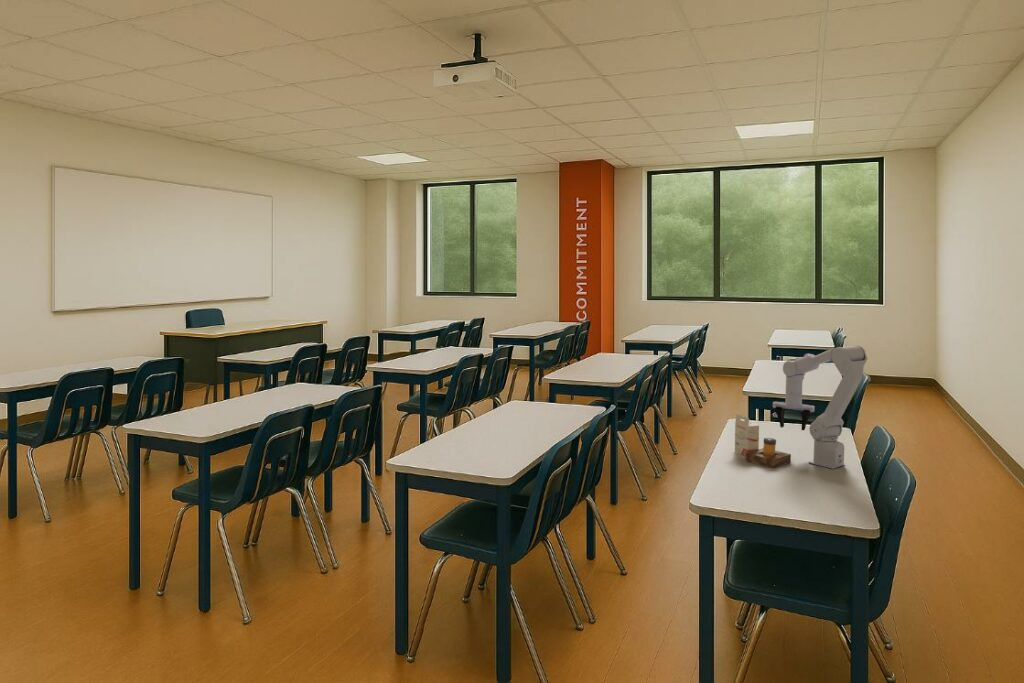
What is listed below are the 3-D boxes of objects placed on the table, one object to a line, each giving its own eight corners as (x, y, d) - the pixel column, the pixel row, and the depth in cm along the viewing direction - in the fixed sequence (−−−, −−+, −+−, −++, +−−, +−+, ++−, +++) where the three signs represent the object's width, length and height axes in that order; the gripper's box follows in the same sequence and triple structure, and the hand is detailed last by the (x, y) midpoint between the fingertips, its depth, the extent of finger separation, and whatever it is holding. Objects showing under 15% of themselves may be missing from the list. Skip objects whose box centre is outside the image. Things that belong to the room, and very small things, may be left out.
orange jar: (776, 461, 256) (778, 439, 255) (770, 463, 253) (772, 441, 252) (766, 458, 259) (767, 437, 258) (759, 460, 256) (761, 439, 255)
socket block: (790, 462, 255) (790, 454, 255) (773, 468, 248) (773, 459, 248) (763, 455, 264) (763, 447, 263) (745, 461, 257) (745, 453, 257)
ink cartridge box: (759, 456, 263) (760, 417, 262) (747, 457, 262) (748, 418, 260) (745, 450, 271) (746, 412, 270) (733, 451, 270) (734, 413, 268)
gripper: (770, 392, 266) (769, 427, 267) (811, 396, 257) (809, 433, 259) (776, 389, 271) (775, 424, 273) (816, 393, 263) (815, 429, 264)
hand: (792, 428), depth 266 cm, fingers open, 7 cm apart
